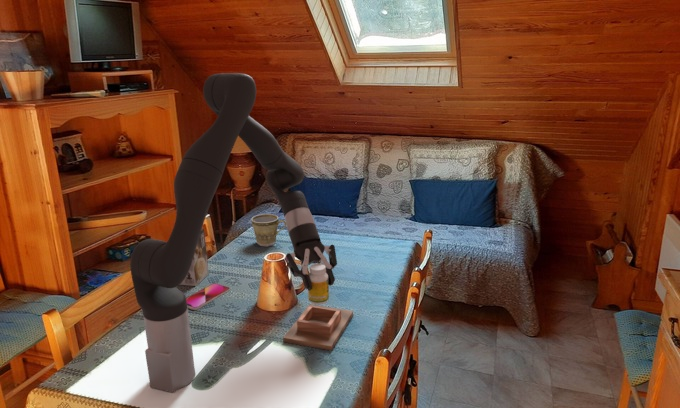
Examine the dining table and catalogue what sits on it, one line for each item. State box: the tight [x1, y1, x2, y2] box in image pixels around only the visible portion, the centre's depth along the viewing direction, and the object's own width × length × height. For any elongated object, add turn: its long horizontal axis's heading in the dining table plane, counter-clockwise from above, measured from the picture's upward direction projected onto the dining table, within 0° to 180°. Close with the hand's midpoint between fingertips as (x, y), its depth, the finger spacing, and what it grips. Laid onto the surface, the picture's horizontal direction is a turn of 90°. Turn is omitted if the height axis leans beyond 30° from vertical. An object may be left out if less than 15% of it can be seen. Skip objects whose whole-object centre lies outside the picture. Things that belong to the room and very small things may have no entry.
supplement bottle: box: [307, 263, 330, 306], centre depth 133 cm, size 5×5×10 cm
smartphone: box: [186, 282, 231, 311], centre depth 154 cm, size 7×1×15 cm
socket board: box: [282, 303, 354, 351], centre depth 136 cm, size 18×13×4 cm
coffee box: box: [179, 228, 210, 287], centre depth 163 cm, size 9×6×16 cm
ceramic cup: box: [251, 213, 287, 247], centre depth 192 cm, size 13×10×10 cm
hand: (321, 286), depth 132 cm, fingers closed on supplement bottle, 5 cm apart
